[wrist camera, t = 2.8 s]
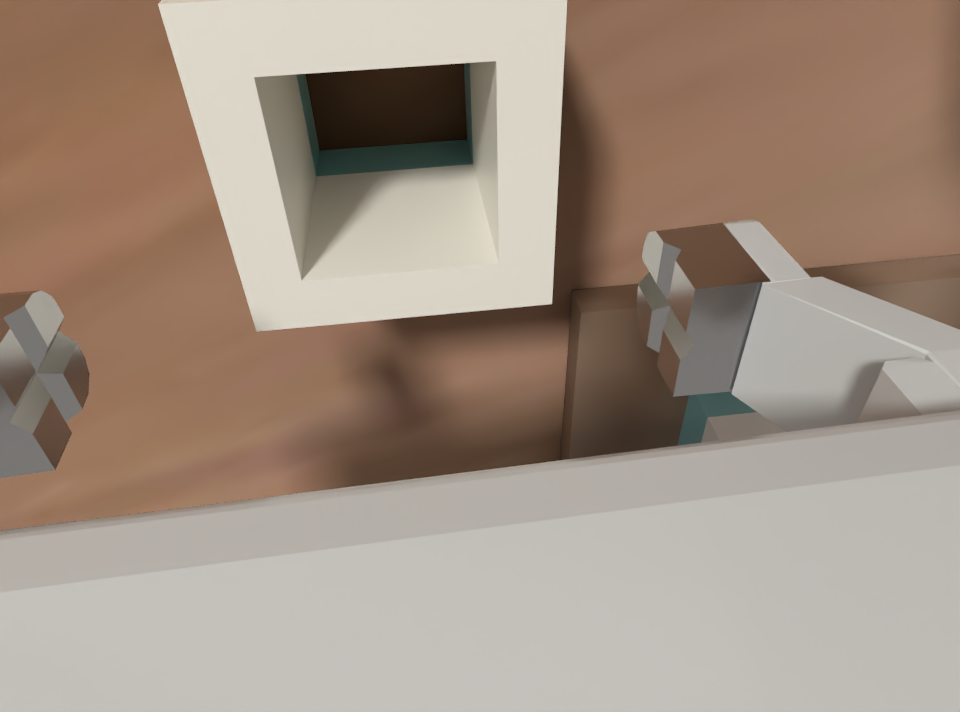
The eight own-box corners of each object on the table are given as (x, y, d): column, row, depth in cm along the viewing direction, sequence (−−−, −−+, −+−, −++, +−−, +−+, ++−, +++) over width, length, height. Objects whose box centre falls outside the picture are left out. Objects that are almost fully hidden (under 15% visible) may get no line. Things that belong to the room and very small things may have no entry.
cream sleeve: (508, -84, 15) (567, -21, 10) (508, 175, 19) (551, 304, 14) (225, -69, 15) (158, 4, 10) (285, 193, 18) (256, 332, 14)
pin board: (994, 251, 23) (1175, 390, 17) (787, 644, 39) (848, 773, 34) (572, 290, 22) (633, 450, 16) (544, 676, 38) (570, 814, 33)
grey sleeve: (861, 368, 24) (978, 510, 19) (811, 481, 28) (899, 622, 23) (691, 385, 23) (769, 535, 19) (665, 498, 27) (724, 645, 23)
